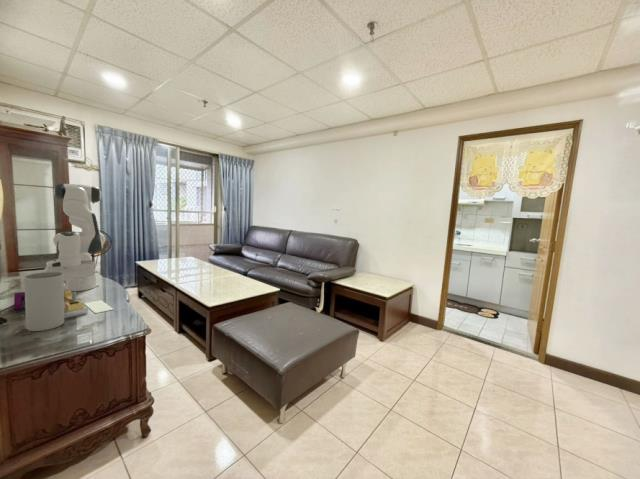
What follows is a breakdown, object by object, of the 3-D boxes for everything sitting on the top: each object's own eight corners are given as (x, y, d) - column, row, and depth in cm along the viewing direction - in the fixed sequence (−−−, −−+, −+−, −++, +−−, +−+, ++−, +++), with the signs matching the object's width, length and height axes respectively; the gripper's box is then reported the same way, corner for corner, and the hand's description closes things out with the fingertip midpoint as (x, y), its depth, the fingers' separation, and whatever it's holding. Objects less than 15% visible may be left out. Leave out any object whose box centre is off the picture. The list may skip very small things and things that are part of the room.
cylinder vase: (23, 326, 120) (21, 274, 118) (59, 318, 131) (58, 270, 128) (29, 334, 114) (28, 280, 111) (68, 325, 124) (67, 275, 122)
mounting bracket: (19, 313, 145) (13, 309, 133) (19, 298, 147) (14, 293, 135) (43, 309, 152) (40, 305, 139) (43, 295, 153) (40, 290, 141)
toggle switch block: (55, 308, 141) (55, 287, 140) (77, 304, 148) (77, 284, 147) (64, 318, 131) (64, 295, 130) (87, 313, 139) (87, 292, 137)
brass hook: (60, 303, 141) (59, 292, 141) (74, 300, 146) (74, 290, 146) (68, 311, 133) (67, 299, 132) (83, 308, 138) (83, 297, 137)
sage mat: (84, 304, 150) (84, 303, 150) (101, 300, 157) (101, 300, 157) (95, 313, 139) (95, 312, 139) (113, 309, 146) (113, 309, 146)
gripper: (93, 258, 148) (93, 282, 149) (41, 262, 131) (42, 289, 132) (96, 260, 144) (97, 284, 146) (44, 264, 127) (45, 291, 129)
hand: (70, 286), depth 139 cm, fingers open, 8 cm apart
